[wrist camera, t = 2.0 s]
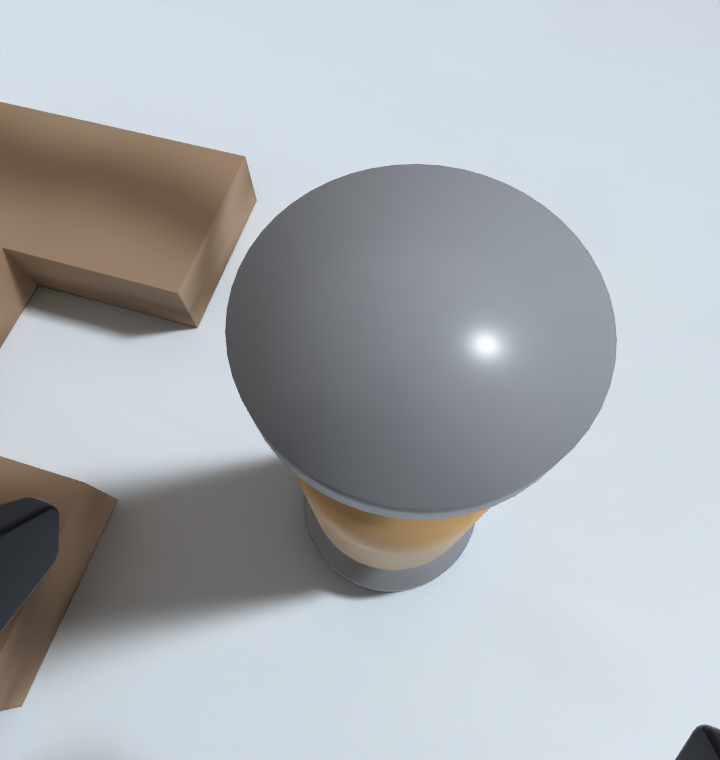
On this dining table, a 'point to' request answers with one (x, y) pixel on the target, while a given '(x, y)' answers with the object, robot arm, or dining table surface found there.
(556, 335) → the bobbin
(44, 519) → the robot arm
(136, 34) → the dining table surface
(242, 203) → the notched board
